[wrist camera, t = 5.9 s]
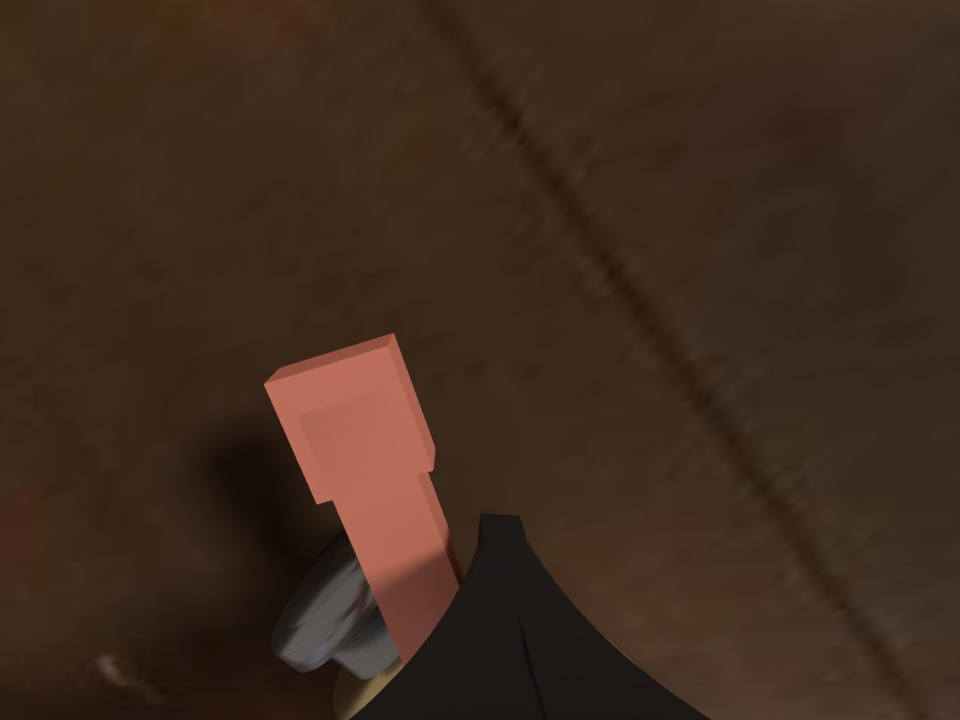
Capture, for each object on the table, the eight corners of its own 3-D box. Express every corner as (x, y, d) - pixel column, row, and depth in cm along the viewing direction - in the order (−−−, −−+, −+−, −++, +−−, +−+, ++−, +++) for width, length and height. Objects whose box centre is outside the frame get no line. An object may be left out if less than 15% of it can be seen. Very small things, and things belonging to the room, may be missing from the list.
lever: (594, 840, 15) (611, 922, 14) (492, 865, 16) (496, 950, 14) (412, 319, 11) (403, 344, 10) (275, 362, 11) (243, 393, 10)
